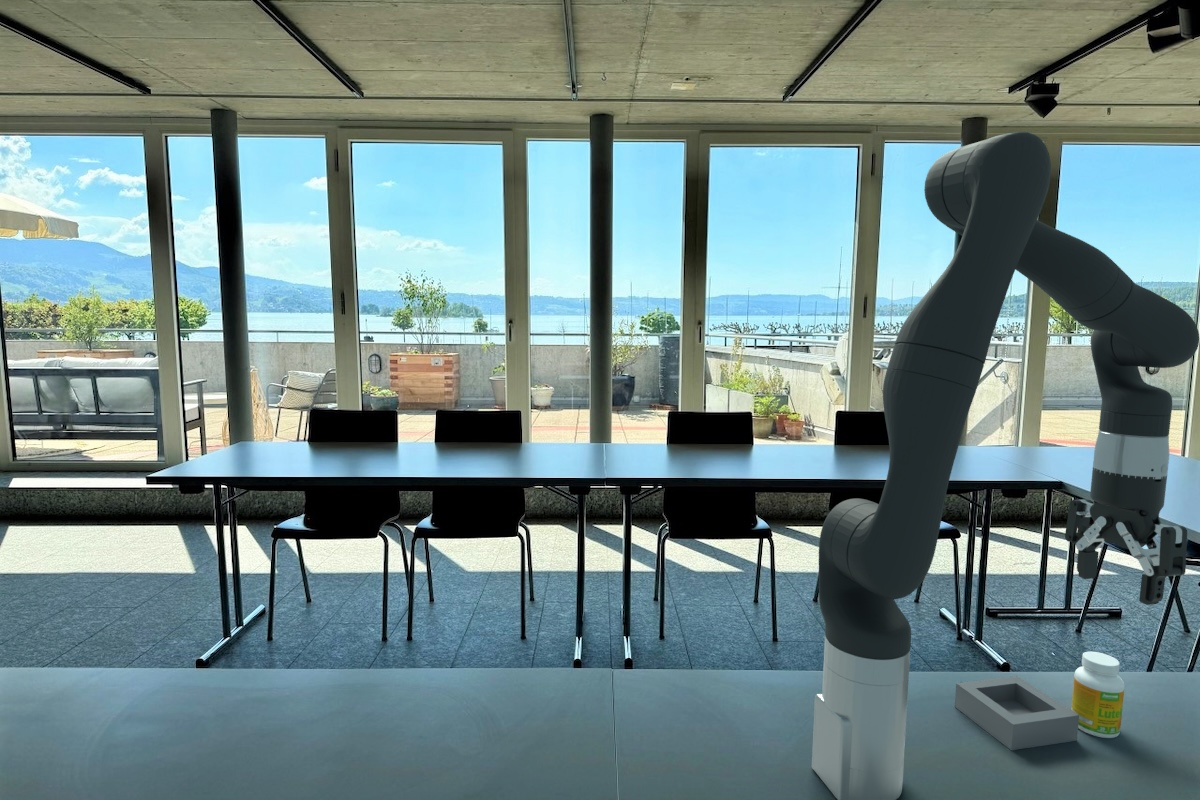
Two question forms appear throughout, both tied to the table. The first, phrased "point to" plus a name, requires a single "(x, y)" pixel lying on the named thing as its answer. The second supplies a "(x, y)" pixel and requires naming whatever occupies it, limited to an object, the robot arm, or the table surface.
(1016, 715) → the socket mount
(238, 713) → the table surface
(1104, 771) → the table surface
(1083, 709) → the supplement bottle
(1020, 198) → the robot arm
